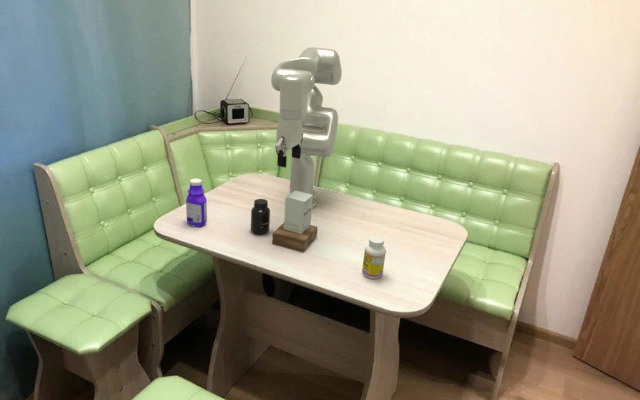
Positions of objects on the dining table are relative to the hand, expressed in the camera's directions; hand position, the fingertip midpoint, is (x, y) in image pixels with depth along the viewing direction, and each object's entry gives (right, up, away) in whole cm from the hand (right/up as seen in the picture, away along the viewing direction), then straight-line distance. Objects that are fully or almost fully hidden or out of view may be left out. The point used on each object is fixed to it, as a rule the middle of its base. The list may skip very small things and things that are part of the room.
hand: (289, 162), depth 168 cm
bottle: (-35, -22, +14) cm, 44 cm away
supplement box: (+2, -23, +6) cm, 24 cm away
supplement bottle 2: (+27, -37, -9) cm, 47 cm away
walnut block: (+2, -28, +7) cm, 29 cm away
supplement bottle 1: (-11, -25, +12) cm, 30 cm away
